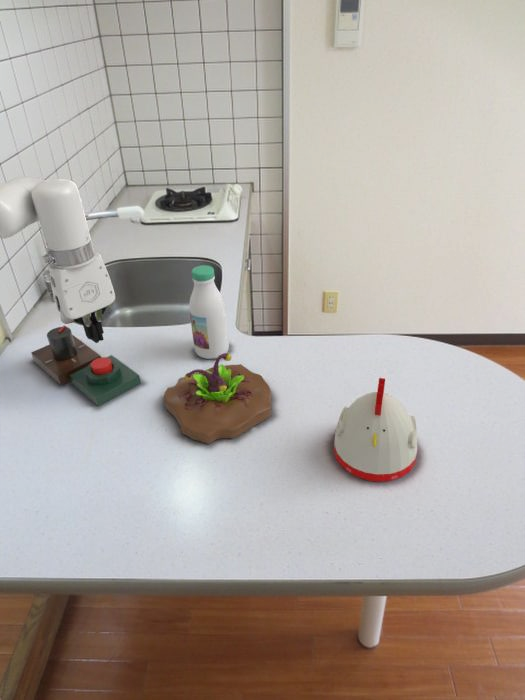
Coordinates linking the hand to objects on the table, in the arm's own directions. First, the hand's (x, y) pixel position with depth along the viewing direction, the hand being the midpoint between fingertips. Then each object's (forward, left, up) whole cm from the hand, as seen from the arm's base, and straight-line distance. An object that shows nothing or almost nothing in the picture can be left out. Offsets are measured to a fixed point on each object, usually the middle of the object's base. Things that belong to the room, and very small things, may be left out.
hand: (96, 339), depth 104 cm
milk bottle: (+7, +23, -11) cm, 26 cm away
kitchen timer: (+52, +22, -11) cm, 57 cm away
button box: (0, 0, -11) cm, 11 cm away
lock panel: (-13, -2, -11) cm, 17 cm away
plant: (+23, +12, -11) cm, 28 cm away
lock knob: (-13, -2, -9) cm, 16 cm away
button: (0, 0, -8) cm, 8 cm away
